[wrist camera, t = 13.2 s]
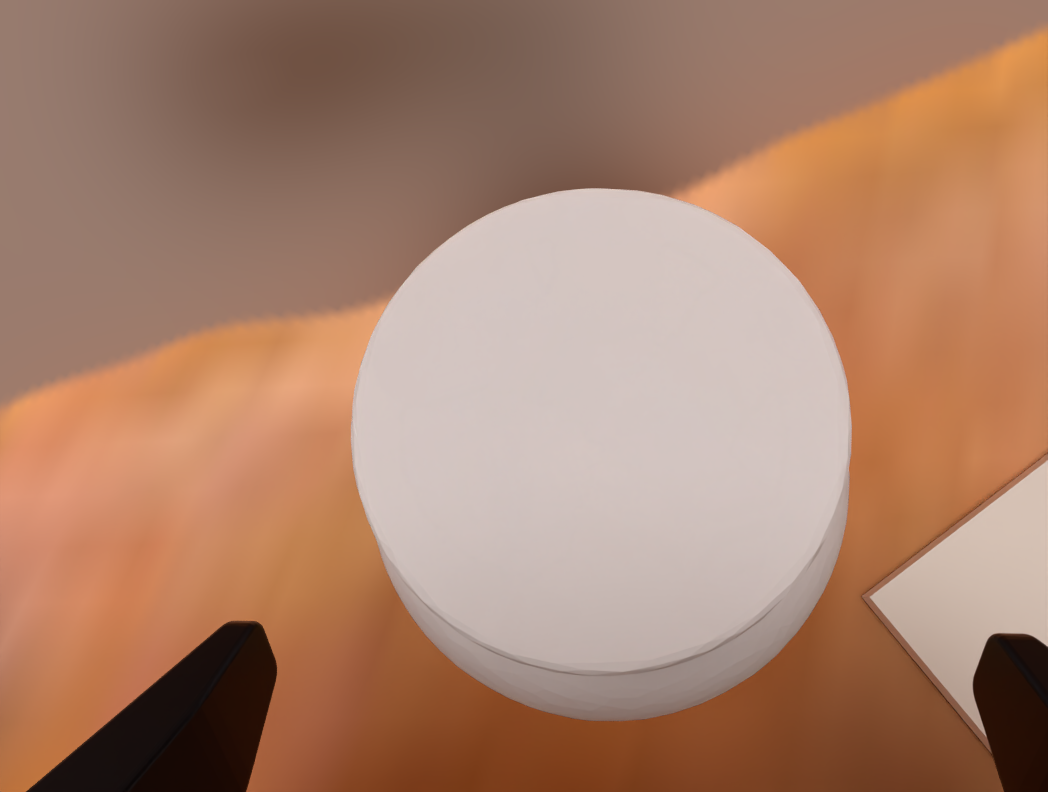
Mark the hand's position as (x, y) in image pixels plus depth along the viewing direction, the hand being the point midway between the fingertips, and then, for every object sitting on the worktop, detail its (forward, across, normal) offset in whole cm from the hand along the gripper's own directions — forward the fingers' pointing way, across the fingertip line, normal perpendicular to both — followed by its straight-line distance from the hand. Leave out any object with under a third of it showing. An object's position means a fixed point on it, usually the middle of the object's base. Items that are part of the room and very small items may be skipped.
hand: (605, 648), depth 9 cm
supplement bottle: (+9, 0, +5) cm, 10 cm away
